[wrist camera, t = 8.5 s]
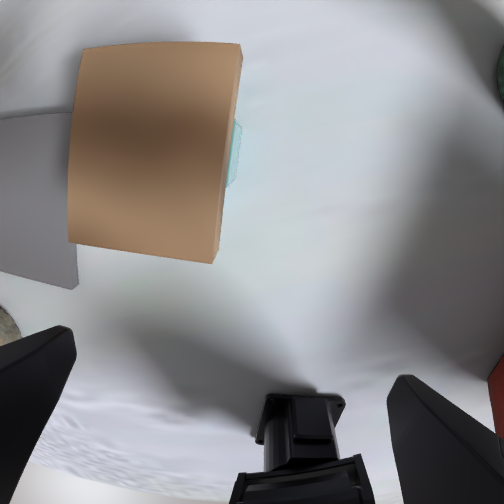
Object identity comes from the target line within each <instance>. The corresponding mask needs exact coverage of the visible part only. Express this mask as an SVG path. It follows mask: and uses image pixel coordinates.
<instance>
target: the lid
mask: <svg viewBox="0 0 504 504" xmlns="http://www.w3.org/2000/svg"><path fill="white" fill-rule="evenodd" d="M242 61H243V55H242V51H241V47H240V44H233V43H217V42H150V43H134V44H122V45H112V46H103V47H96V48H88V49H83V53H82V58H81V63H80V68H79V74H78V79H77V85H76V92H75V99H74V106H73V114H72V123H71V133H70V146H69V161H68V194H67V208H68V241H69V243H76V244H82V245H88V246H94V247H101V248H107V249H114V250H120V251H127V252H133V253H140V254H146V255H153V256H160V257H167V258H174V259H180V260H187V261H194V262H201V263H208V264H212V263H213V261H214V259H215V256H216V254H217V252H218V250H219V241H220V232H221V223H222V214H223V205H224V196H225V187H226V179H227V171H228V163H229V155H230V147H231V139H232V131H233V124H234V117H235V109H236V102H237V95H238V88H239V81H240V75H241V68H242Z"/></svg>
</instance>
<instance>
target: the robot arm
mask: <svg viewBox="0 0 504 504" xmlns="http://www.w3.org/2000/svg"><path fill="white" fill-rule="evenodd" d="M76 357H77V351H76V346H75V341H74V336H73V332H72V330H71V329H70V328H68V327H64V326H61V325H58V326H55V327H52V328H49V329H46V330H44V331H41V332H38V333H35V334H32V335H30V336H27V337H24V338H21V339H18V340H16V341H13V342H10V343H7V344H5V345H2V346H0V504H9V503H10V501H11V498H12V496H13V493H14V491H15V489H16V487H17V484H18V482H19V480H20V477H21V475H22V473H23V471H24V468H25V466H26V464H27V462H28V460H29V458H30V456H31V454H32V451H33V449H34V447H35V445H36V443H37V441H38V439H39V437H40V435H41V433H42V431H43V429H44V427H45V425H46V423H47V422H48V420H49V418H50V416H51V414H52V412H53V410H54V408H55V406H56V404H57V402H58V400H59V398H60V396H61V394H62V391H63V389H64V386H65V384H66V381H67V379H68V377H69V374H70V372H71V370H72V367H73V365H74V363H75V361H76ZM271 399H273V400H271ZM340 403H341V404H340ZM345 405H346V403H345V400H344V399H343V398H327V397H307V396H293V395H281V394H268V395H267V396H266V397H265V401H264V406H263V410H262V414H261V418H260V422H259V426H258V430H257V434H256V438H255V442H256V444H259V445H264V472H257V473H246V472H244V473H239V474H238V477H237V481H235V484H234V488H233V491H232V495H231V498H230V502H229V504H375V499H374V495H373V491H372V487H371V484H370V481H369V478H368V475H367V472H366V469H365V466H364V462H363V459H362V456H361V453H360V454H356V455H353V457H349V458H344V459H340V454H339V449H338V444H337V439H336V434H335V427H336V424H337V422H338V420H339V418H340V416H341V414H342V412H343V410H344V408H345ZM387 409H388V417H389V424H390V433H391V441H392V448H393V453H394V457H395V462H396V467H397V471H398V476H399V481H400V486H401V491H402V496H403V502H404V504H504V439H502V438H501V437H498V435H497V434H495V433H494V432H492V431H491V430H490V429H488V428H487V427H485V426H484V425H483V424H481V423H480V422H478V421H477V420H475V419H474V418H473V417H471V416H470V415H468V414H467V413H466V412H464V411H463V410H461V409H460V408H459V407H457V406H456V405H454V404H453V403H452V402H450V401H449V400H447V399H446V398H445V397H443V396H442V395H440V394H439V393H438V392H436V391H435V390H433V389H432V388H431V387H429V386H428V385H426V384H425V383H424V382H422V381H421V380H419V379H418V378H417V377H415V376H414V375H399V376H398V377H397V379H396V381H395V383H394V385H393V387H392V389H391V391H390V393H389V395H388V397H387Z"/></svg>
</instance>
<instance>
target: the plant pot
mask: <svg viewBox="0 0 504 504" xmlns="http://www.w3.org/2000/svg"><path fill="white" fill-rule="evenodd" d="M488 389H489V397H490V402H491V407H492V413H493V420H494V426H495V432H496V434H497V435H498V437H501V438H502V439H504V356H503V357H502V359H501V360H500V362H499V363H498V365H497V366H496V368H495V369H494V371H493V372H492V373H491V375H490V376H489V379H488Z"/></svg>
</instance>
